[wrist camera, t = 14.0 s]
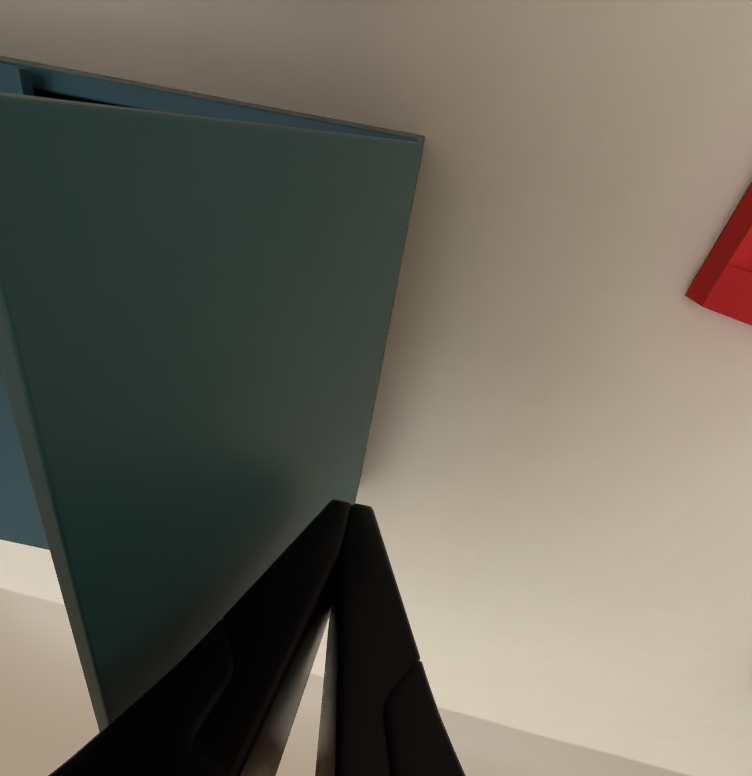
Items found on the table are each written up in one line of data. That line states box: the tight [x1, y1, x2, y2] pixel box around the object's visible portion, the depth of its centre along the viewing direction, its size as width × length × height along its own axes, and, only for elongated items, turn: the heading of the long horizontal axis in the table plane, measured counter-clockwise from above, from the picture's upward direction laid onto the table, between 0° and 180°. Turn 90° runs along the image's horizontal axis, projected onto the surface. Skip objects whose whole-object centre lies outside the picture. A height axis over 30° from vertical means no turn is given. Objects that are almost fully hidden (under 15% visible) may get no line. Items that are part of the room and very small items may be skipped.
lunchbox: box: [0, 56, 425, 550], centre depth 15 cm, size 15×14×6 cm
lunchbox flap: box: [0, 92, 422, 732], centre depth 9 cm, size 7×14×1 cm
